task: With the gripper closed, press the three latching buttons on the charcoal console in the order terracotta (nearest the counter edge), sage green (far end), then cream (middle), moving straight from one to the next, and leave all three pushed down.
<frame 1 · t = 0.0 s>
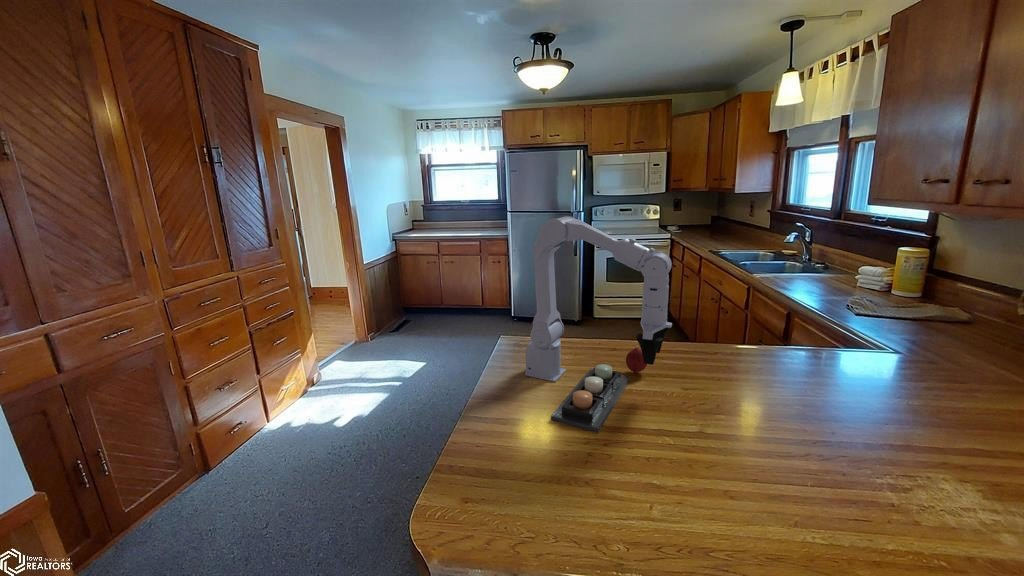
hand: (652, 357, 100), 10 cm above the worktop, fingers open, 7 cm apart
console: (593, 399, 102), on the worktop
button terracotta: (582, 400, 94), point 4 cm above the worktop, slide at 0.0 cm
button sage: (603, 372, 108), point 4 cm above the worktop, slide at 0.0 cm
onion: (636, 373, 115), on the worktop
button cream: (593, 385, 101), point 4 cm above the worktop, slide at 0.0 cm
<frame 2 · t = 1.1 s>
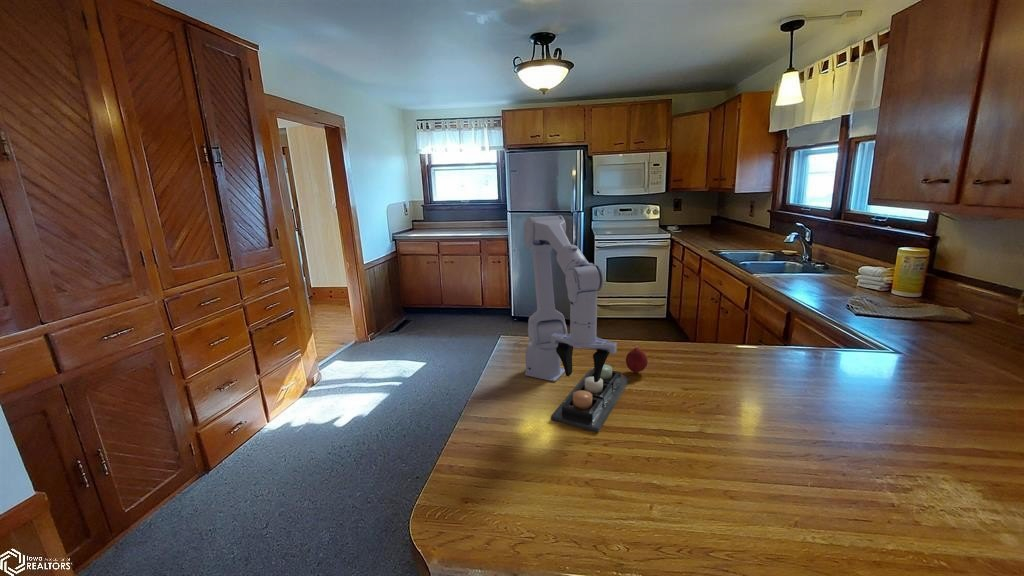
hand: (582, 377, 93), 9 cm above the worktop, fingers open, 6 cm apart
nothing on the worktop moved.
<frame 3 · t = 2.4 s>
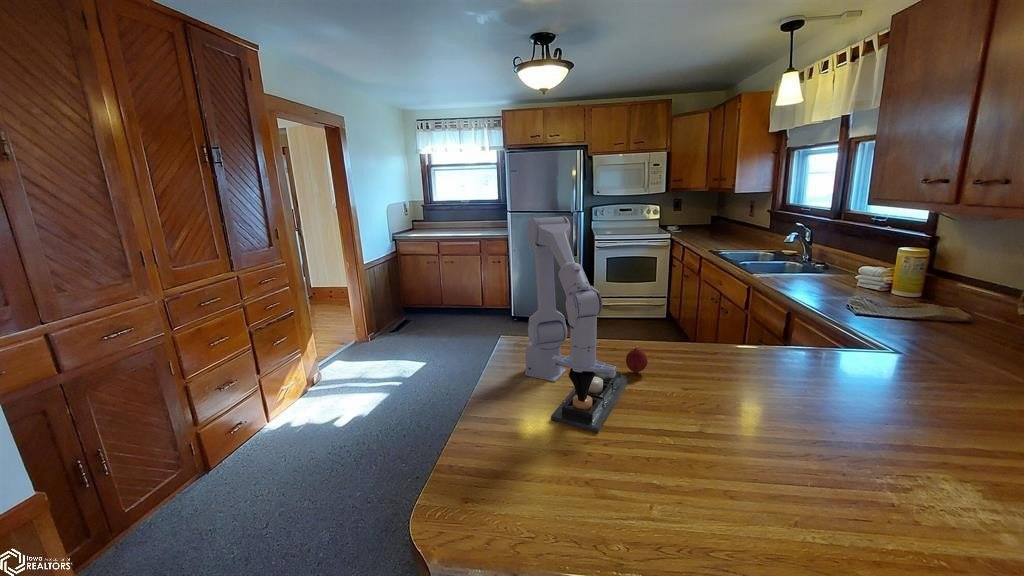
hand: (582, 399, 94), 4 cm above the worktop, fingers closed, pressing on button terracotta
button terracotta: (582, 404, 95), point 3 cm above the worktop, slide at 1.0 cm, touching gripper
everything else where it was.
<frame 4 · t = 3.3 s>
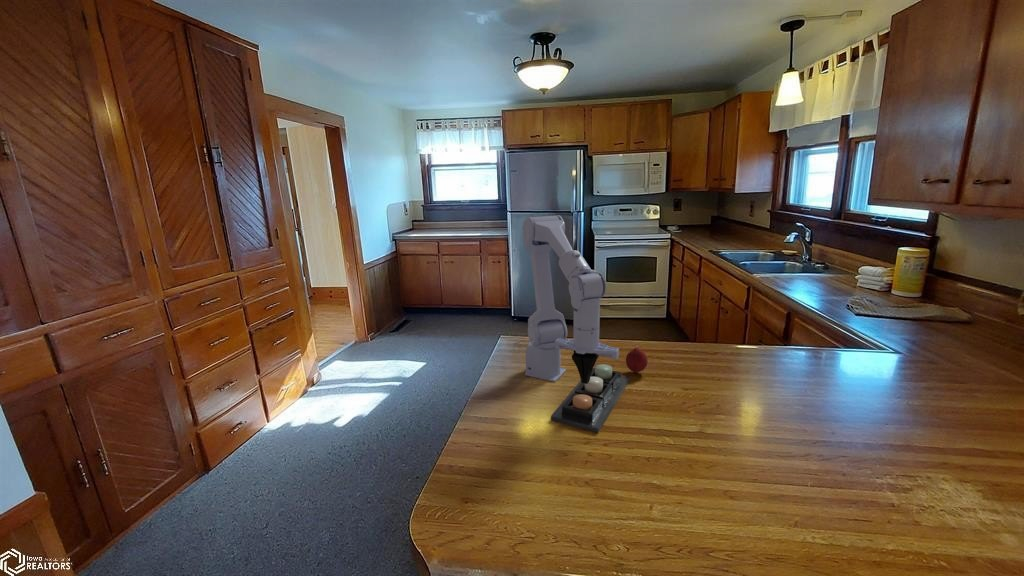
hand: (585, 381, 95), 7 cm above the worktop, fingers closed
button terracotta: (582, 404, 95), point 3 cm above the worktop, slide at 1.0 cm
everything else where it was.
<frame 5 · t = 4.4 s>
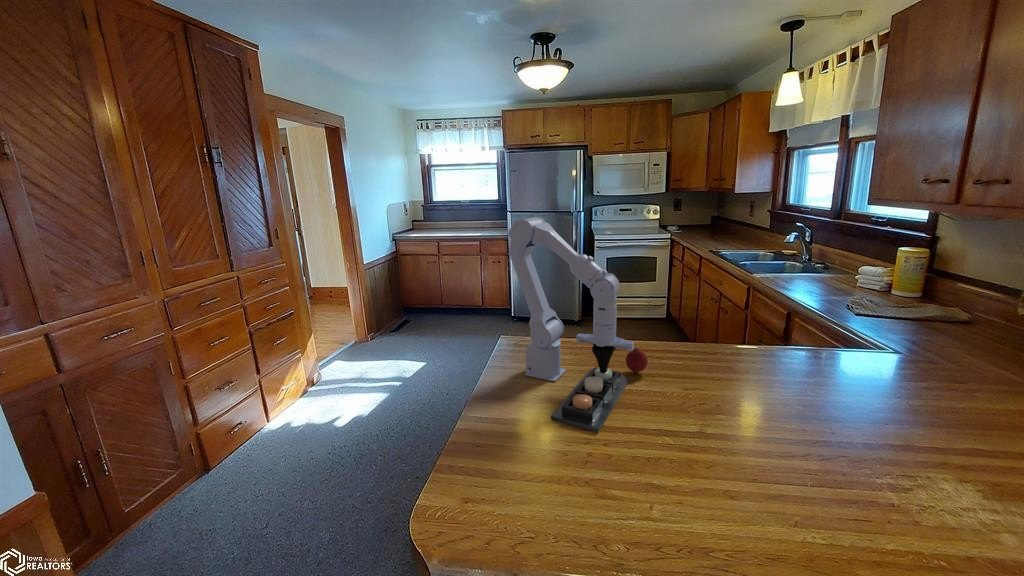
hand: (603, 371, 108), 4 cm above the worktop, fingers closed, pressing on button sage
button sage: (603, 375, 108), point 3 cm above the worktop, slide at 1.0 cm, touching gripper
everything else where it was.
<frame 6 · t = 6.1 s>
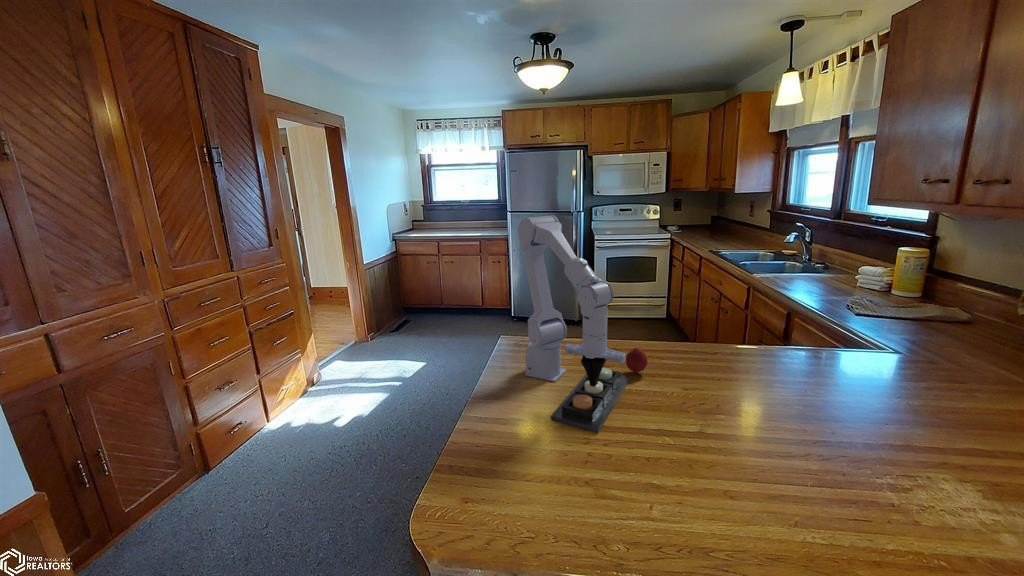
hand: (593, 384, 101), 4 cm above the worktop, fingers closed, pressing on button cream
button sage: (603, 375, 108), point 3 cm above the worktop, slide at 1.0 cm
button cream: (593, 389, 101), point 3 cm above the worktop, slide at 1.0 cm, touching gripper
everything else where it was.
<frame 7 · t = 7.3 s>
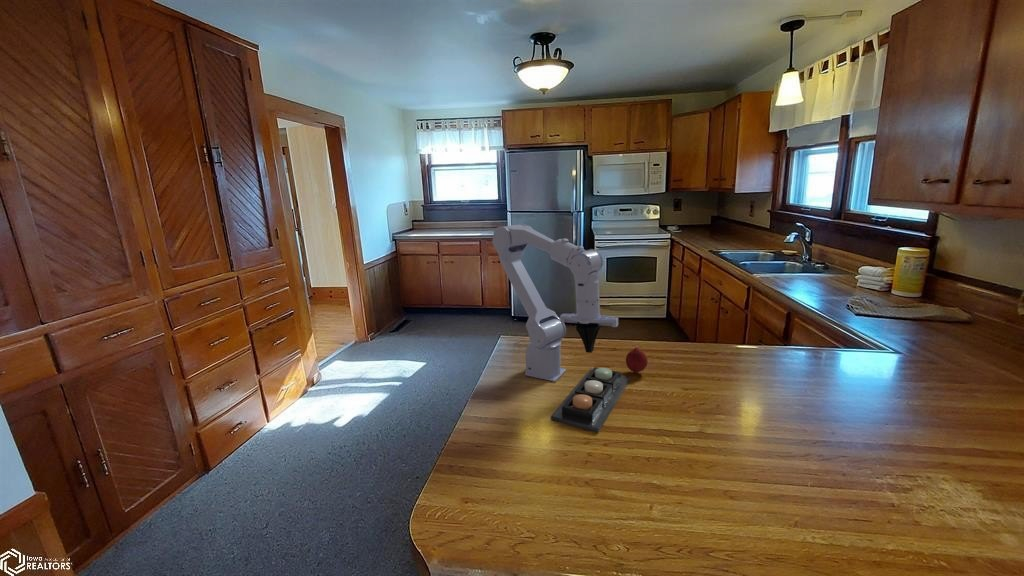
hand: (589, 351, 105), 10 cm above the worktop, fingers closed
button cream: (593, 389, 101), point 3 cm above the worktop, slide at 1.0 cm
everything else where it was.
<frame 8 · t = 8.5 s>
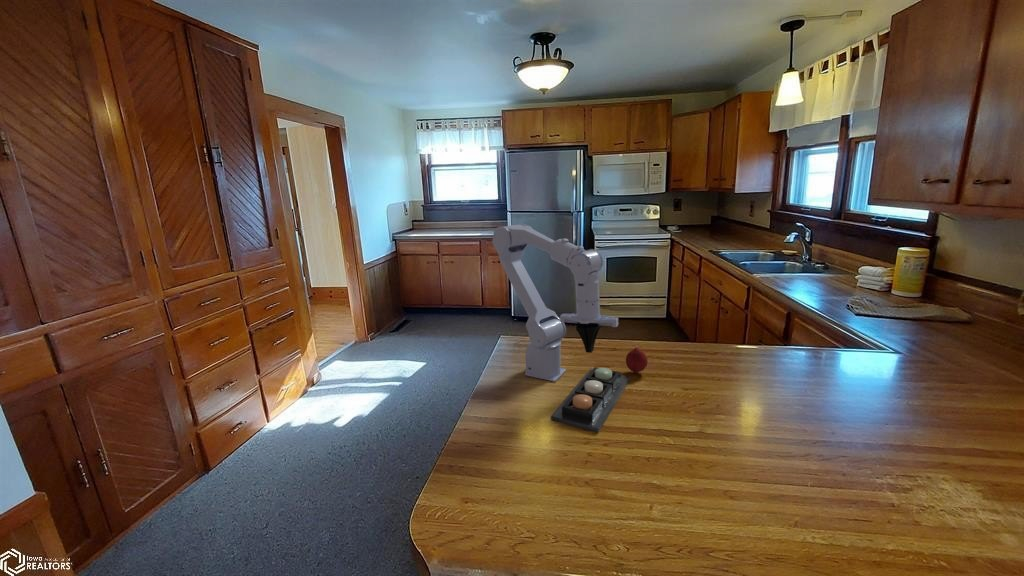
hand: (589, 351, 105), 10 cm above the worktop, fingers closed
nothing on the worktop moved.
at the end: button terracotta slide at 1.0 cm; button sage slide at 1.0 cm; button cream slide at 1.0 cm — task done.
